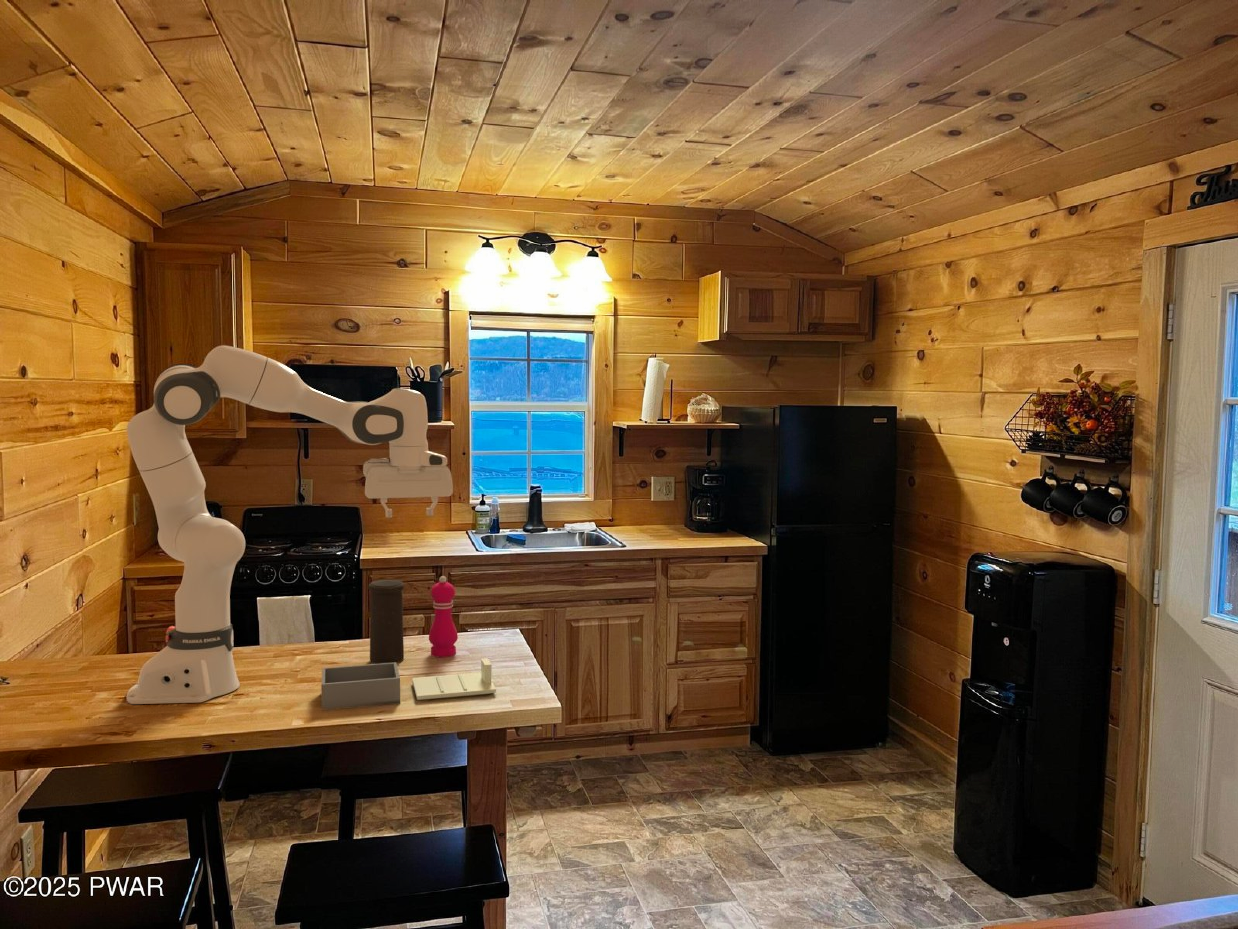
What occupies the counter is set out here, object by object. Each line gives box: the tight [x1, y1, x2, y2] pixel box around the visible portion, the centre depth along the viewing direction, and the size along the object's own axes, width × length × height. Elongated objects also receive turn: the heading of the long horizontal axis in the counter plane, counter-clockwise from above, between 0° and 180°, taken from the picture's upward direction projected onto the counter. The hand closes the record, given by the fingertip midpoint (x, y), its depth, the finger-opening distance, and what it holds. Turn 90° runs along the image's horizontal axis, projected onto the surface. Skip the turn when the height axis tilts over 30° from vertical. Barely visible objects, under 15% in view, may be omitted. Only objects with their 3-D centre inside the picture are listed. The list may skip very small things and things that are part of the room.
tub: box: [320, 662, 401, 711], centre depth 201 cm, size 16×12×6 cm
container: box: [367, 579, 405, 664], centre depth 228 cm, size 9×9×20 cm
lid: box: [411, 658, 497, 701], centre depth 207 cm, size 17×13×6 cm
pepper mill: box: [428, 575, 459, 658], centre depth 234 cm, size 7×7×20 cm
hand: (409, 516), depth 218 cm, fingers open, 8 cm apart
